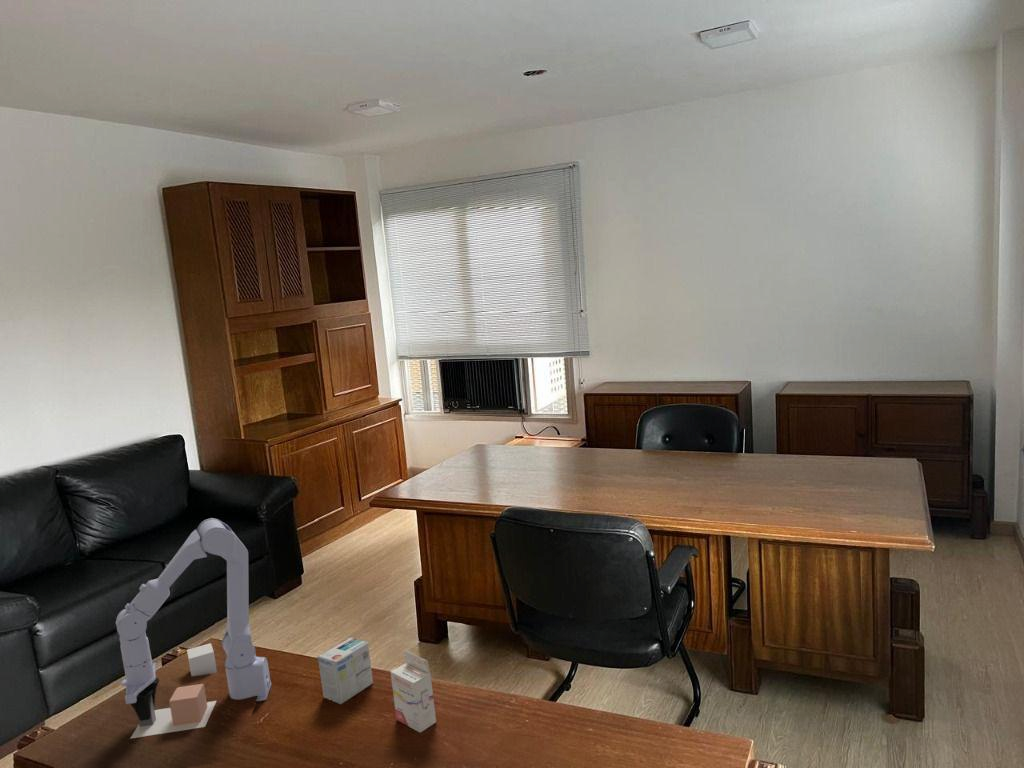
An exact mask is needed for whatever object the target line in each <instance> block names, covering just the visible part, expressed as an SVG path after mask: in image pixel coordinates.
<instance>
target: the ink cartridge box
mask: <svg viewBox="0 0 1024 768" xmlns="http://www.w3.org/2000/svg"><path fill="white" fill-rule="evenodd" d="M404 655H405V660H406V663H404V664H402V665H400V666H399V667H396V668H395V669H393V670H391V671H390V679H391V686H392V695H393V704H394V711H395V719H396V721H398V722H400V723H402V724H404V725H405V726H407V727H409V728H411V729H413V730H414V731H416V732H418V733H423V732H424V731H425V730H427V729H428V728H429V727H431V726H433V725H434V724H435V723H436V722H437V718H436V708H435V702H434V701H435V700H434V691H433V684H432V675H431V672H430V671H431V670H430V668H429V667H430V666H429V661H428V660H427V659H424V658H422V657H421V656H419V655H416V654H415V653H412V652H409V651H407V650H405V651H404ZM415 660H417V661H418V662H417V661H415Z"/></svg>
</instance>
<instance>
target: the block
mask: <svg viewBox="0 0 1024 768" xmlns="http://www.w3.org/2000/svg"><path fill="white" fill-rule="evenodd" d="M207 702H208V701H207V695H206V690H205V684H204V683H200V684H198V683H197V684H192V685H191V684H190V685H186V686H185V685H184V686H179V687H177V688H176V689H175V690H174V692H173V693H172V696H171V697H170V699H169V701H168V703H169V708H170V709H171V715H172V721H173V726H176V725H182V724H189V723H195V722H201V720H202V718H203V716H204V714H205V712H206V709H207Z"/></svg>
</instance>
